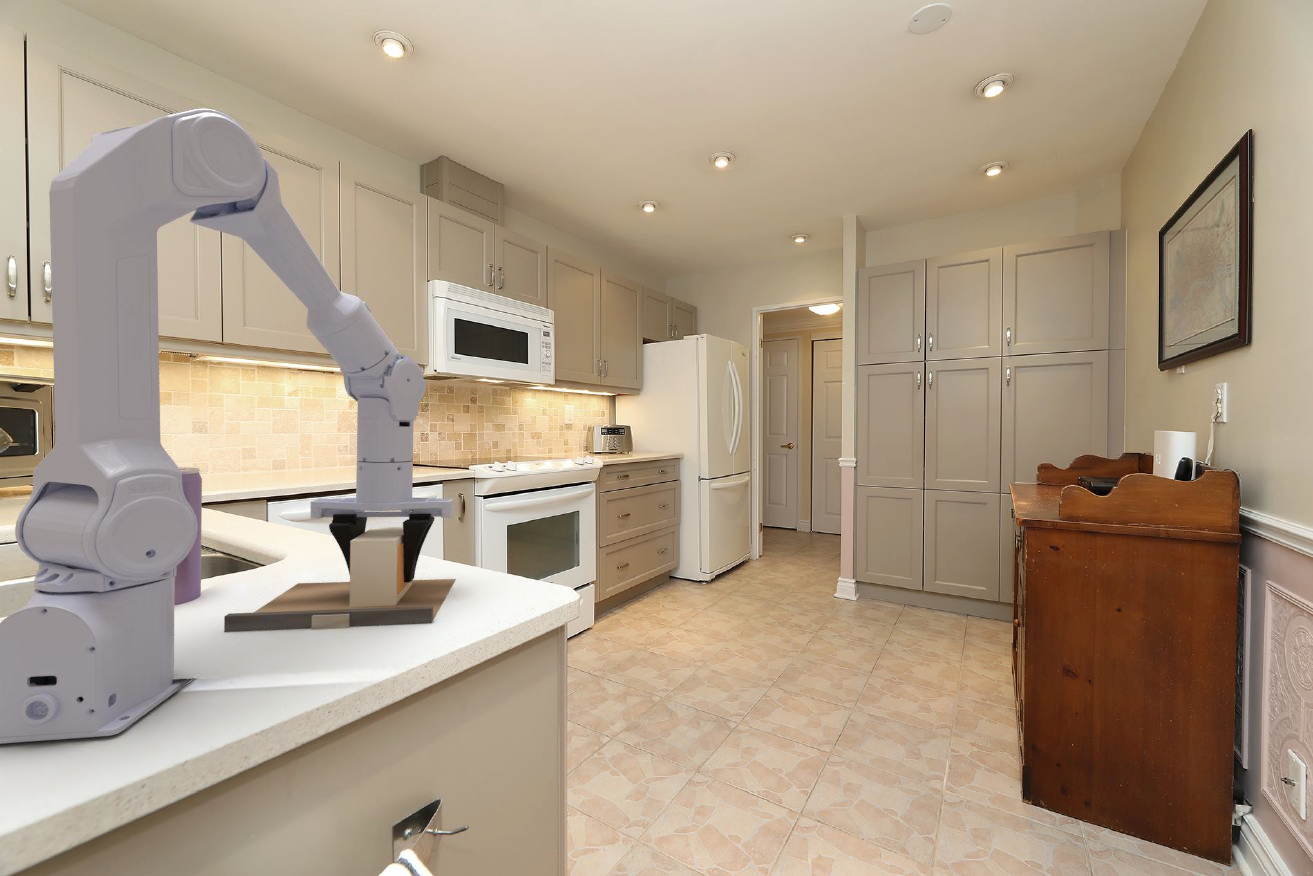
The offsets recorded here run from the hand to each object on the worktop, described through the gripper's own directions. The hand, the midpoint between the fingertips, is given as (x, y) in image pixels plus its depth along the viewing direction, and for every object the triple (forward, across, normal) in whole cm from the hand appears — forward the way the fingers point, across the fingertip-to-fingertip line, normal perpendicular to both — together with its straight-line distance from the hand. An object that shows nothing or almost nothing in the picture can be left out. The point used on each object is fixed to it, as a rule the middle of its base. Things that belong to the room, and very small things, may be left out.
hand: (383, 580), depth 64 cm
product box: (+2, 0, 0) cm, 2 cm away
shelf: (+3, +2, +2) cm, 4 cm away
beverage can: (+3, +22, -1) cm, 22 cm away
